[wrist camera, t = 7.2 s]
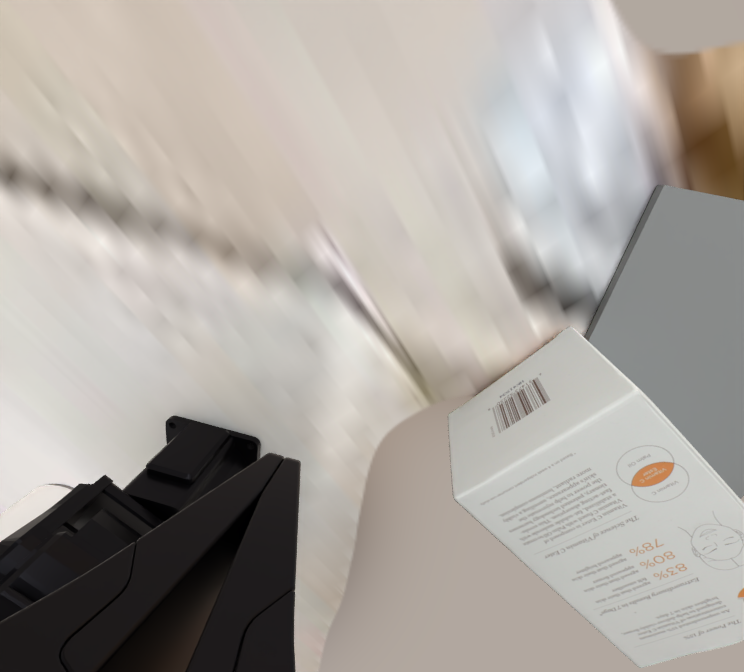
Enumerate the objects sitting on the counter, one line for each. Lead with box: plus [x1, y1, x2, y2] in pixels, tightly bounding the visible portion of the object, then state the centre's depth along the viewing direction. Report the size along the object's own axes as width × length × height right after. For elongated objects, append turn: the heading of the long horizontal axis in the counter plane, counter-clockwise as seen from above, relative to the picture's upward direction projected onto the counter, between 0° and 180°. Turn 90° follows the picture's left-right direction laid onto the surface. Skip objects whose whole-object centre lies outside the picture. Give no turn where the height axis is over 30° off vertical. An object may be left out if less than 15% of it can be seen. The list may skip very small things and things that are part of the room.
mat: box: [584, 185, 744, 499], centre depth 17 cm, size 14×11×1 cm
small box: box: [448, 326, 744, 668], centre depth 17 cm, size 8×6×13 cm
